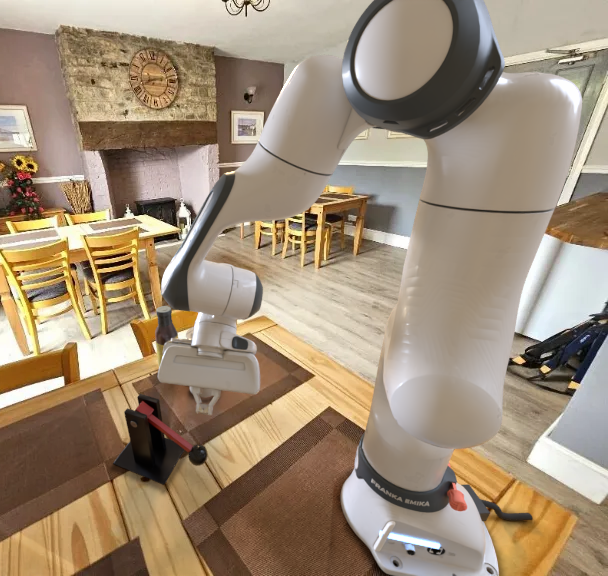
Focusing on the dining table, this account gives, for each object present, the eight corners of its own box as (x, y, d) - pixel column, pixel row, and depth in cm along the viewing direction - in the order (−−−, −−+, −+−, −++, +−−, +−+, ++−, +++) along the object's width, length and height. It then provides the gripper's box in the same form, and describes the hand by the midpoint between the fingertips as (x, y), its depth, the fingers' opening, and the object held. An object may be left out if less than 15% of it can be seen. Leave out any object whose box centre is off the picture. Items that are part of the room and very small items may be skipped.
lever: (205, 456, 60) (213, 448, 58) (197, 473, 57) (205, 465, 55) (140, 406, 62) (145, 396, 60) (128, 419, 59) (134, 410, 57)
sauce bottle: (176, 378, 87) (169, 316, 78) (156, 375, 88) (147, 314, 80) (184, 363, 93) (178, 304, 84) (164, 361, 94) (156, 303, 85)
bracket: (187, 449, 66) (181, 397, 60) (164, 489, 59) (155, 433, 53) (140, 433, 70) (130, 382, 64) (114, 468, 63) (99, 414, 57)
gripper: (160, 333, 62) (146, 406, 58) (262, 343, 58) (255, 422, 54) (170, 339, 68) (158, 406, 63) (263, 348, 64) (258, 421, 59)
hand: (203, 414), depth 59 cm, fingers closed
